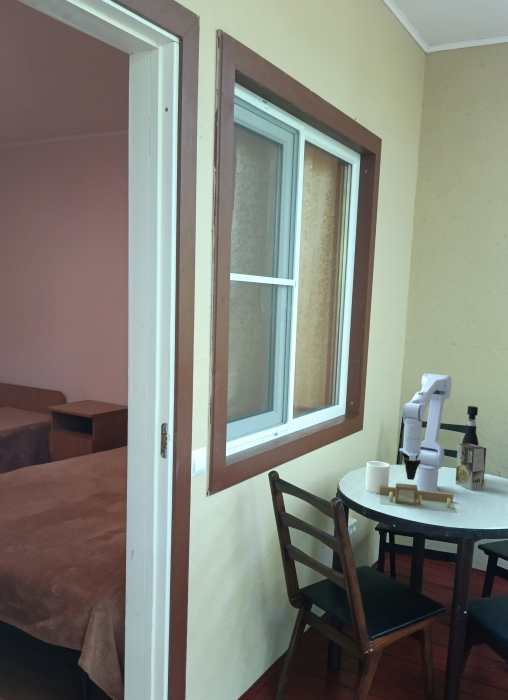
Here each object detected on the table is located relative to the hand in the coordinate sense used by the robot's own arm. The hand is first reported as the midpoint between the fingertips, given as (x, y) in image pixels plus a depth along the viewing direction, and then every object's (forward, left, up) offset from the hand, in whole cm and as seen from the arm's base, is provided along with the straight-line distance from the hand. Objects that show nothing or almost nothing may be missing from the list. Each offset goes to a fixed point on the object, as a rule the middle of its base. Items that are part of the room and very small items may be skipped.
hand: (409, 476), depth 194 cm
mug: (-13, -10, -10) cm, 19 cm away
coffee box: (-31, +25, -10) cm, 41 cm away
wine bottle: (-41, +26, -10) cm, 49 cm away
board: (-1, +3, -10) cm, 10 cm away
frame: (+1, -1, -9) cm, 9 cm away
